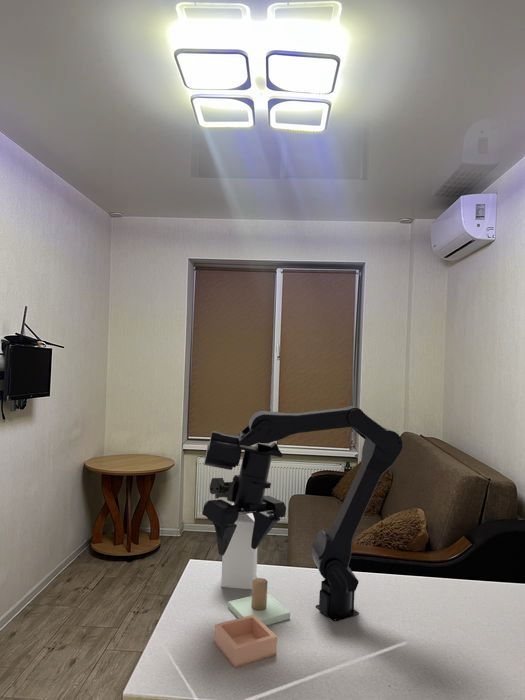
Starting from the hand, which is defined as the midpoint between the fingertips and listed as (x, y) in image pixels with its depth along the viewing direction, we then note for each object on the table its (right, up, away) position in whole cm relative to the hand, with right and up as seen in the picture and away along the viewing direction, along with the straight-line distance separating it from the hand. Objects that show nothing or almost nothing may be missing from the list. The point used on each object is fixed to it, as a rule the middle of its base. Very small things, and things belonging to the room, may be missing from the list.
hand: (237, 551), depth 96 cm
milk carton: (0, -13, +13) cm, 18 cm away
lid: (+4, -12, 0) cm, 13 cm away
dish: (+2, -12, -12) cm, 17 cm away
